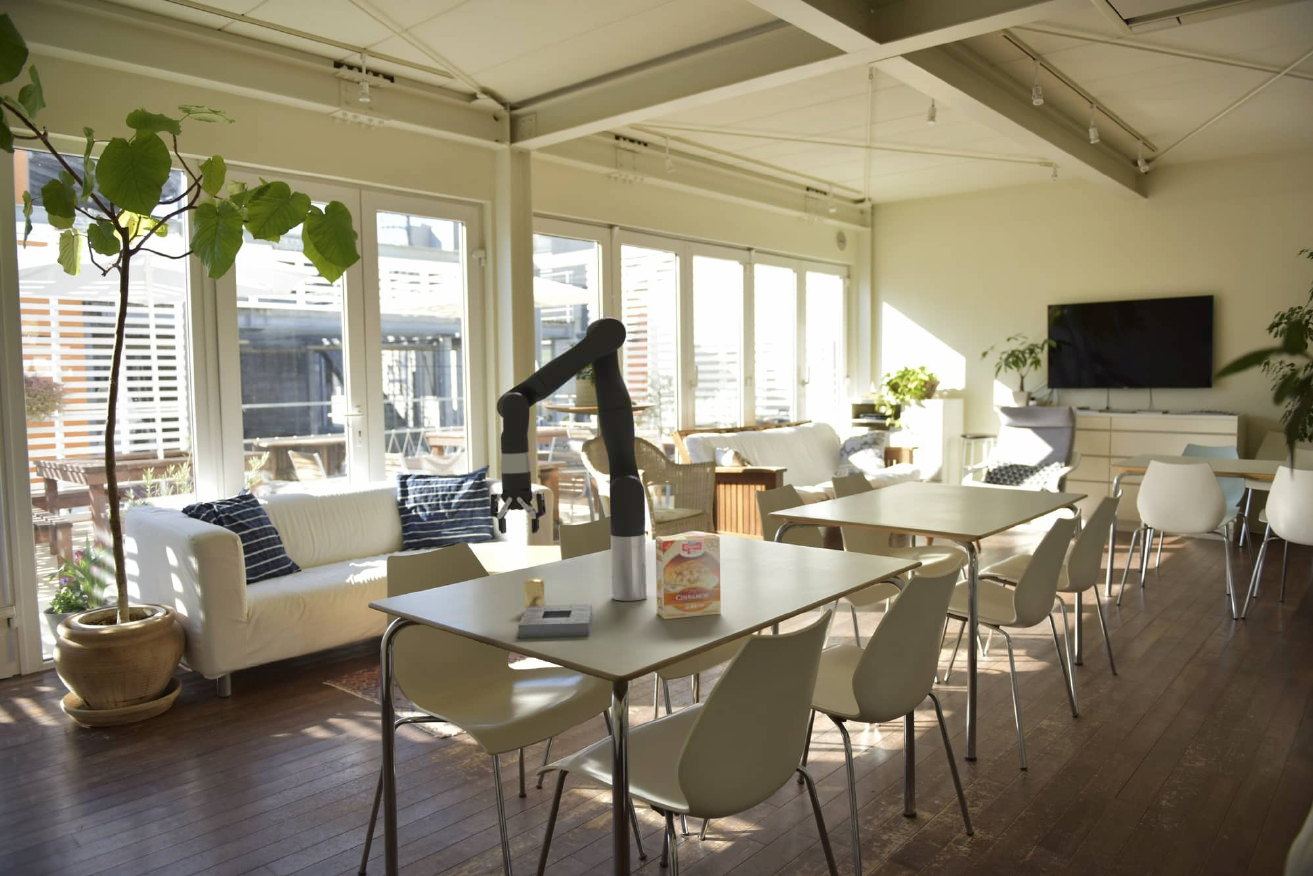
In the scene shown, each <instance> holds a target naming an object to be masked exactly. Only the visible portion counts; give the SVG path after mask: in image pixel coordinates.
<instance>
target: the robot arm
mask: <svg viewBox="0 0 1313 876" xmlns="http://www.w3.org/2000/svg"><path fill="white" fill-rule="evenodd" d="M626 338H627V330H626V327H625V324H624V323H623V322H622V321H621V320H620V319H618V318H615V317H611V316H610V317H608V316H606V317H601V318H599V319H596V320H595V321H593V322H591V323H590V324H589V326H587V328H586V332H585V336H584V338H582V339H581V340H580V341H579V342H578V343H576V344H574V346H572V347H571V348H569V349H568V350H566V351H565V352H563V353H562V354H560V355H558V356H557V357H555V358H553V359H552V360H550V361H549V362H548V363H546V364H544V365H543V366H542V367H540V368H539V369H538V370H536V371H535V372H533V373H532V374H531V375H530V376H528V378H527V379H525V380H524V381H522V382H520V383H519V384H517V385H515V386H514V387H512V388H511V389H509V390H507V391H506V392H504V393H503V394H502V395H501V396H500V397H499V398H498V400H497V403H496V410H497V413H498V414H499V416H500V417H501V418H502V432H501V435H500V454H501V457H500V472H501V473H500V474H501V476H500V478H501V491H502V492H501V493H499V492H493V493H491V494H490V507H489V508H490V510H489V511H490V514H489V515H490V517H491V518H496V519H497V522H498V527H497V528H498V531H499V532H500V534H503V535H504V534H507V518H506V515H507V514H508V513H509V512H510V510H511V511H516V510H517V511H525V512H526V513H527V514H528V515H529V516H530V517H531V520H530V522H531V532H532V533H531V534H536V533H538V531H539V530H540V518H541V517H543V516H545V515H547V512H546V511H547V510H546V502H545V493H544V492H543V491H540V492H535V493H533V491H532V471H531V457H530V453H529V451H530V450H529V449H530V448H529V437H528V434H529V433H528V432H529V425H530V408H531V407H532V406H534V405H535V404H537V403H538V402H542V401H544V400H546V399H547V398H548V397H550V396H551V395H552V394H554V393H555V392H556V391H558V390H559V389H560V388H561V387H563V386H564V385H565V384H566V383H567V382H569V381H570V380H571V379H572V378H574V377H575V376H576V375H577V374H578V373H580V372H581V371H583V370H584V369H585V368H587V367H588V366H590V365H591V367H592V372H593V377H594V378H593V379H594V389H595V396H596V404H597V405H596V406H597V414H598V422H599V428H600V431H601V436H602V439H603V443H604V447H605V450H606V454H607V460H608V468H609V511H610V513H609V516H610V518H609V519H610V521H609V522H610V523H609V524H610V525H609V526H610V548H611V549H610V552H611V553H610V555H611V561H610V562H611V593H612V594H611V595H612V599H613V600H615V601H616V600H617V601H622V602H630V601H631V602H632V601H640V600H641V601H642V600H647V597H648V595H647V564H646V563H647V561H646V559H647V558H646V496H645V494H646V493H645V488H644V485H643V483H642V480H641V476H640V474H639V473H640V472H639V470H638V464H637V459H636V454H635V451H636V449H635V442H636V441H635V438H636V437H635V436H636V435H635V433H636V432H635V418H634V412H633V411H634V410H633V404H632V399H631V397H630V393H629V390H628V388H627V385H626V383H625V381H624V378H623V375H622V373H621V370H620V365H619V355H618V350H619V349H620V348H621V347H622V346H623V345H624V343H625V341H626ZM533 499H534V501H535V502H536V507H537V509H536V507H535V506H534V504H533V503H532V500H533ZM501 500H502V501H503V503H504V504H503V505H502V506H501V508H500V511H499V502H500V501H501Z"/></svg>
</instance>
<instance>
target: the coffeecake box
mask: <svg viewBox="0 0 1313 876" xmlns="http://www.w3.org/2000/svg"><path fill="white" fill-rule="evenodd" d="M720 539H721V538H720V536H718V535H717V534H714V533H712V532H708V533H706V532H705V533H694V534H693V533H692V534H691V533H690V534H680V535H679V534H678V535H676V534H675V535H663V536H662V535H661V536H655V579H656V583H655V584H656V585H655V586H656V589H655V590H656V613H657V614H658V615H659V616H660V617H661V618H662V619H663V620H670V619H672V620H674V619H679V618H681V619H682V618H689V617H690V618H691V617H692V618H693V617H703V616H712V615H721V613H722V611H721V609H722V608H721V606H722V605H721V602H722V601H721V546H720V545H721V544H720V543H721V542H720Z"/></svg>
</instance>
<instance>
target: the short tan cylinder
mask: <svg viewBox="0 0 1313 876" xmlns="http://www.w3.org/2000/svg"><path fill="white" fill-rule="evenodd" d="M545 587H546V586H545V579H544V578H541V577H536V578H535V577H533V578H527V579H524V597H525V598H524V602H525V603H524V606H525V610H526V609H527V607H528V606H546V595H545V590H546V589H545Z"/></svg>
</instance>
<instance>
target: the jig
mask: <svg viewBox="0 0 1313 876" xmlns="http://www.w3.org/2000/svg"><path fill="white" fill-rule="evenodd" d="M593 616H594V614H593V604H592V603H591V604H590V603H589V604H588V603H587V604H559V605H555V604H554V605H552V604H551V605H550V604H549V605H545V606H528V607H527V609H525V611H524V613H523V615H522V616H521V619H520V621H519V623H518V627H517V628H518V638H519V637H523V638H526V639H527V638H529V639H531V638H562V637H565V638H567V637H589V636H590V631H591V627H592V621H593ZM523 638H522V639H523Z"/></svg>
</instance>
